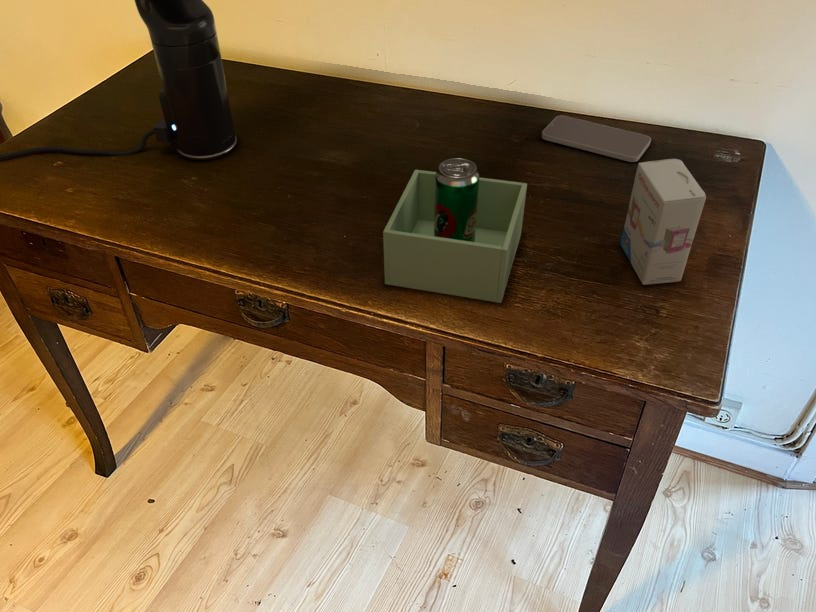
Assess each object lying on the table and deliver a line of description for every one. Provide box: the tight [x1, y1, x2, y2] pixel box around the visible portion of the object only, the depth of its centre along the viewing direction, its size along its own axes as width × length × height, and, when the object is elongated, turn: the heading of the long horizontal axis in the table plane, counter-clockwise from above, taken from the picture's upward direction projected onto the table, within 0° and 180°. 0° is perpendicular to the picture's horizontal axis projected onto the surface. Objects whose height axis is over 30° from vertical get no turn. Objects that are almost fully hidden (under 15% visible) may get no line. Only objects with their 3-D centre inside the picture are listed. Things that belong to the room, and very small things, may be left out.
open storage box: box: [382, 169, 528, 304], centre depth 89 cm, size 14×14×8 cm
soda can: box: [434, 157, 480, 242], centre depth 87 cm, size 5×5×12 cm
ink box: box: [619, 158, 707, 286], centre depth 85 cm, size 9×5×12 cm, turn 5°
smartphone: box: [541, 115, 652, 163], centre depth 111 cm, size 7×1×15 cm
